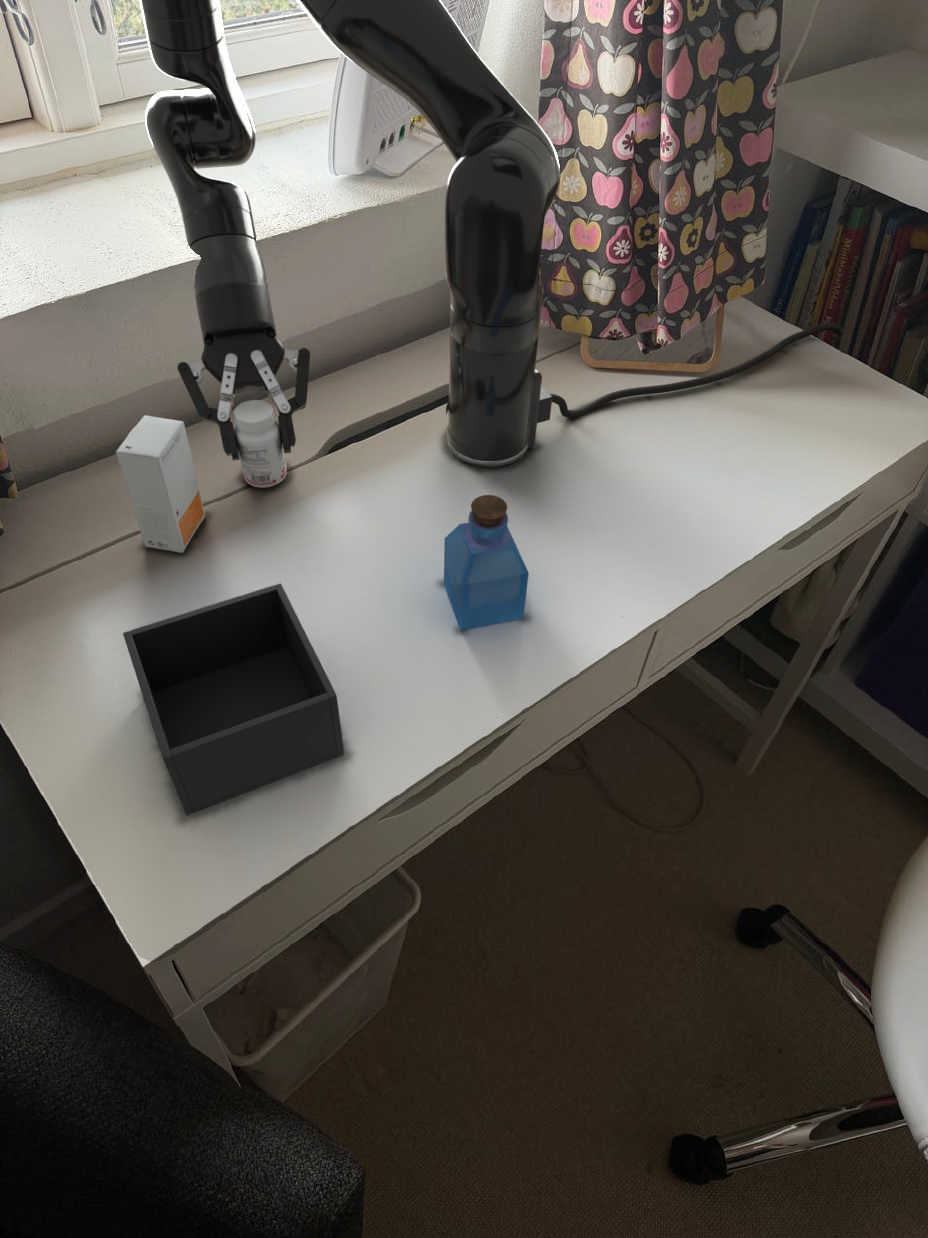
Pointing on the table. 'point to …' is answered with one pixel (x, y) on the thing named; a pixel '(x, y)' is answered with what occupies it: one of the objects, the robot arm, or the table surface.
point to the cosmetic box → (162, 483)
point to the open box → (235, 696)
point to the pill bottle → (259, 444)
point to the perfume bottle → (484, 567)
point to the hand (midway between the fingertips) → (262, 454)
